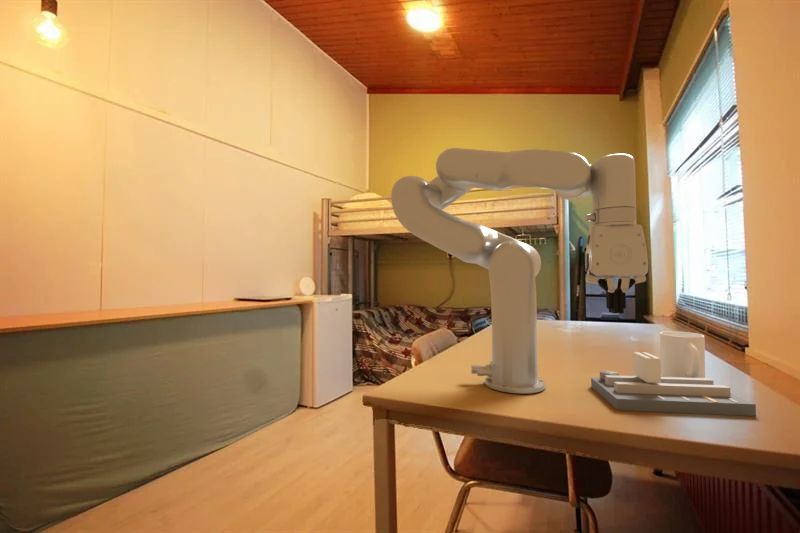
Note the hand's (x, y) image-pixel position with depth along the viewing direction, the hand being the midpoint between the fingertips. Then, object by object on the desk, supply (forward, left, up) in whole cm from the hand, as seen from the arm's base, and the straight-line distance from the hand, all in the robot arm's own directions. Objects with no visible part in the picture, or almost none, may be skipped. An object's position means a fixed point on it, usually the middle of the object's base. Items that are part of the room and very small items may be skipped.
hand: (616, 312), depth 76 cm
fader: (+5, 0, -15) cm, 16 cm away
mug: (+19, +14, -17) cm, 29 cm away
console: (+8, 0, -17) cm, 19 cm away
